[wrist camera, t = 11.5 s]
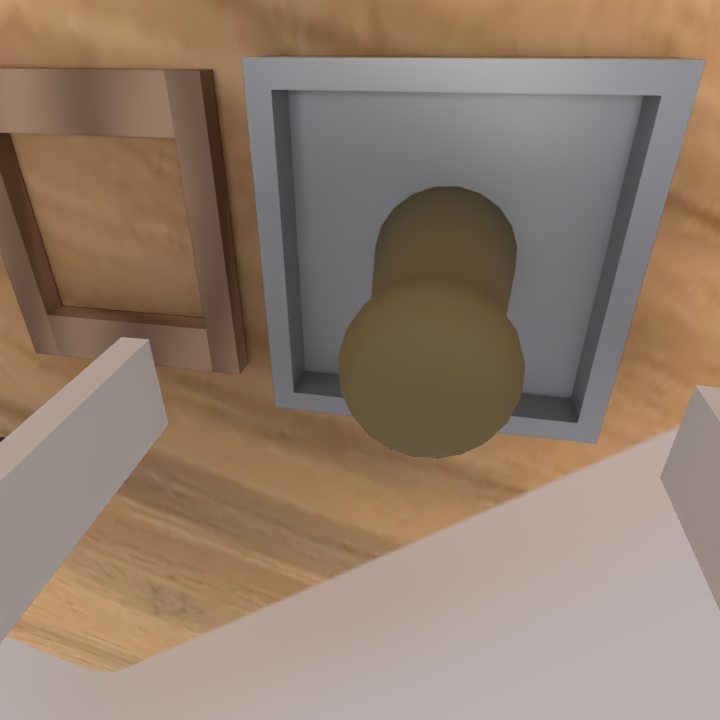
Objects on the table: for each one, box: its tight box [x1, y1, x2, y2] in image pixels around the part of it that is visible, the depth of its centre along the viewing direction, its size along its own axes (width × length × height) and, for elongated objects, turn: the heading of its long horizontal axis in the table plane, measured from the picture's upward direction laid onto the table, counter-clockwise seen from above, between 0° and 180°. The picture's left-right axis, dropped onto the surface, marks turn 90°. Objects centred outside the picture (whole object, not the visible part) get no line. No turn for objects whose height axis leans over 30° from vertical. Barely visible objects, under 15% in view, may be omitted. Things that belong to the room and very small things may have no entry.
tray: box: [241, 56, 706, 444], centre depth 23 cm, size 15×15×3 cm
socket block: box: [0, 67, 248, 375], centre depth 26 cm, size 12×14×1 cm
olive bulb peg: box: [338, 186, 525, 458], centre depth 18 cm, size 6×6×11 cm
